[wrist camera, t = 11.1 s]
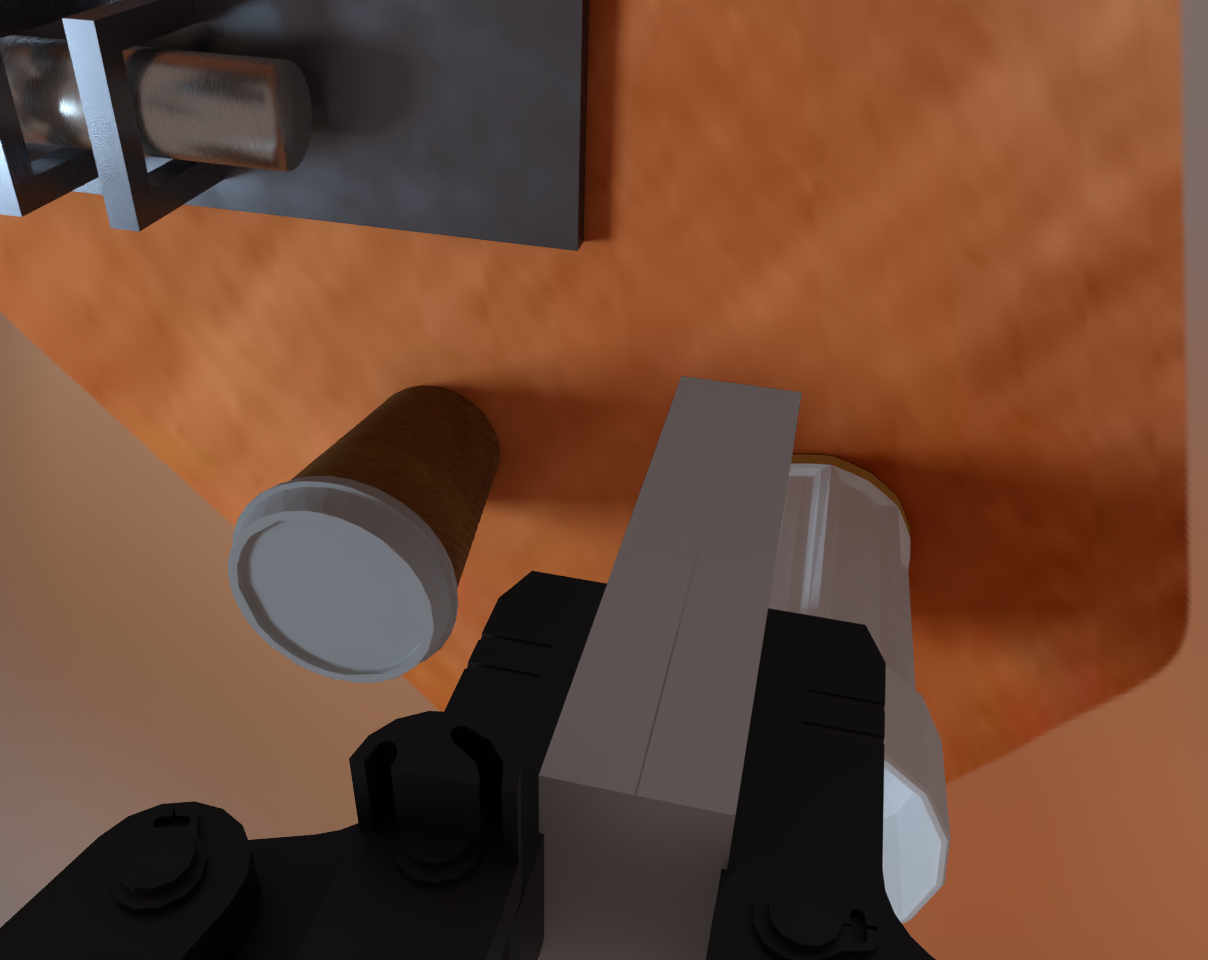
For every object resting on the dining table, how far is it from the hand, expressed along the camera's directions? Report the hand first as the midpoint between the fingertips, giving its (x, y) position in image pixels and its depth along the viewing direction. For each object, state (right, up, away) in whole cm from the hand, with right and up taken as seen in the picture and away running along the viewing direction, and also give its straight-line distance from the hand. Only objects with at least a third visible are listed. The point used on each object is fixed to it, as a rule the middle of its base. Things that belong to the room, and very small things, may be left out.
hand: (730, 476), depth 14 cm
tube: (-21, +16, +30) cm, 40 cm away
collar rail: (-17, +16, +30) cm, 38 cm away
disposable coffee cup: (-10, +2, +38) cm, 39 cm away
